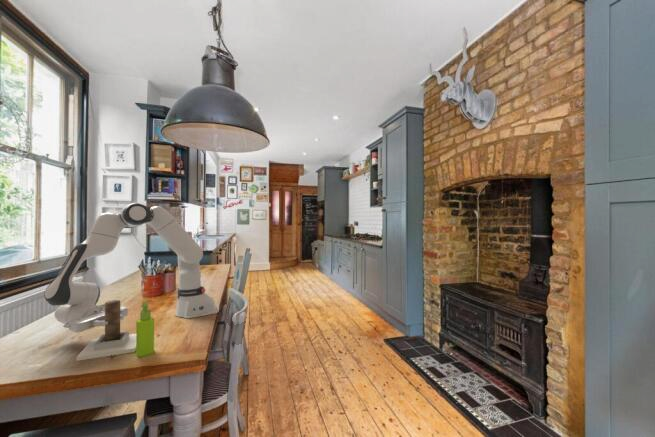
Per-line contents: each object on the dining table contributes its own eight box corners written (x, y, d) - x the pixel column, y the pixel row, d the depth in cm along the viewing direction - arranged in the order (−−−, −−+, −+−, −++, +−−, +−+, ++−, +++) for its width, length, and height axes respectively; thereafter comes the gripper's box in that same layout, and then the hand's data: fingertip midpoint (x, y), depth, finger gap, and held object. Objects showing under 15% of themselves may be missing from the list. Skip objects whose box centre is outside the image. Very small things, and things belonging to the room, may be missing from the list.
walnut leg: (118, 337, 119) (118, 299, 119) (121, 340, 116) (121, 301, 115) (103, 341, 115) (103, 302, 115) (106, 345, 112) (106, 304, 112)
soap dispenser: (134, 359, 106) (135, 306, 106) (137, 351, 112) (137, 301, 112) (153, 355, 109) (153, 304, 109) (154, 348, 115) (154, 299, 115)
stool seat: (142, 335, 126) (142, 327, 126) (134, 351, 112) (134, 341, 112) (92, 342, 119) (92, 333, 119) (76, 360, 104) (76, 350, 104)
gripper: (60, 317, 109) (86, 321, 105) (113, 302, 129) (137, 305, 125) (60, 334, 109) (86, 338, 105) (113, 316, 129) (137, 319, 125)
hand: (114, 320), depth 115 cm, fingers closed on walnut leg, 5 cm apart
